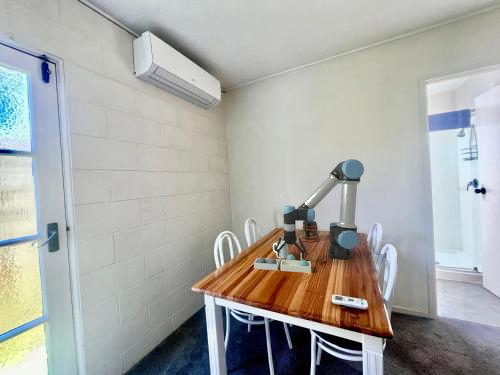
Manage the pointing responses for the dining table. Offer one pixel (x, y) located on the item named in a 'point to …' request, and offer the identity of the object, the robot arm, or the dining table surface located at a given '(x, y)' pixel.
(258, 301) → the dining table surface
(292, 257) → the teal ball
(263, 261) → the charcoal ball
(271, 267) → the tray grey
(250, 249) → the dining table surface
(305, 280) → the dining table surface
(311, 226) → the beer stein
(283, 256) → the cup
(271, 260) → the charcoal ball
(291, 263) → the tray cream
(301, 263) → the teal ball in tray
